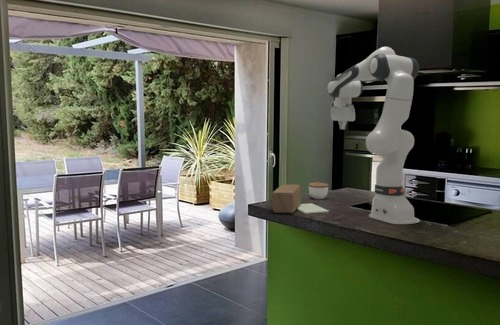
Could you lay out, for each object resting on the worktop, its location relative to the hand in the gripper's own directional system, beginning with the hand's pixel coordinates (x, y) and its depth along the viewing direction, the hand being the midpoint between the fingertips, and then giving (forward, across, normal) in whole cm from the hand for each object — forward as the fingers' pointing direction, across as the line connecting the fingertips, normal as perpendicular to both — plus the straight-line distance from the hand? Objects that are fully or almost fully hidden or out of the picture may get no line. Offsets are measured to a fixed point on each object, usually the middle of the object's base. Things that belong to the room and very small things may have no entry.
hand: (342, 129), depth 250 cm
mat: (+37, -25, +32) cm, 55 cm away
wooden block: (+31, -14, +36) cm, 50 cm away
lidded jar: (+37, -2, +15) cm, 40 cm away
